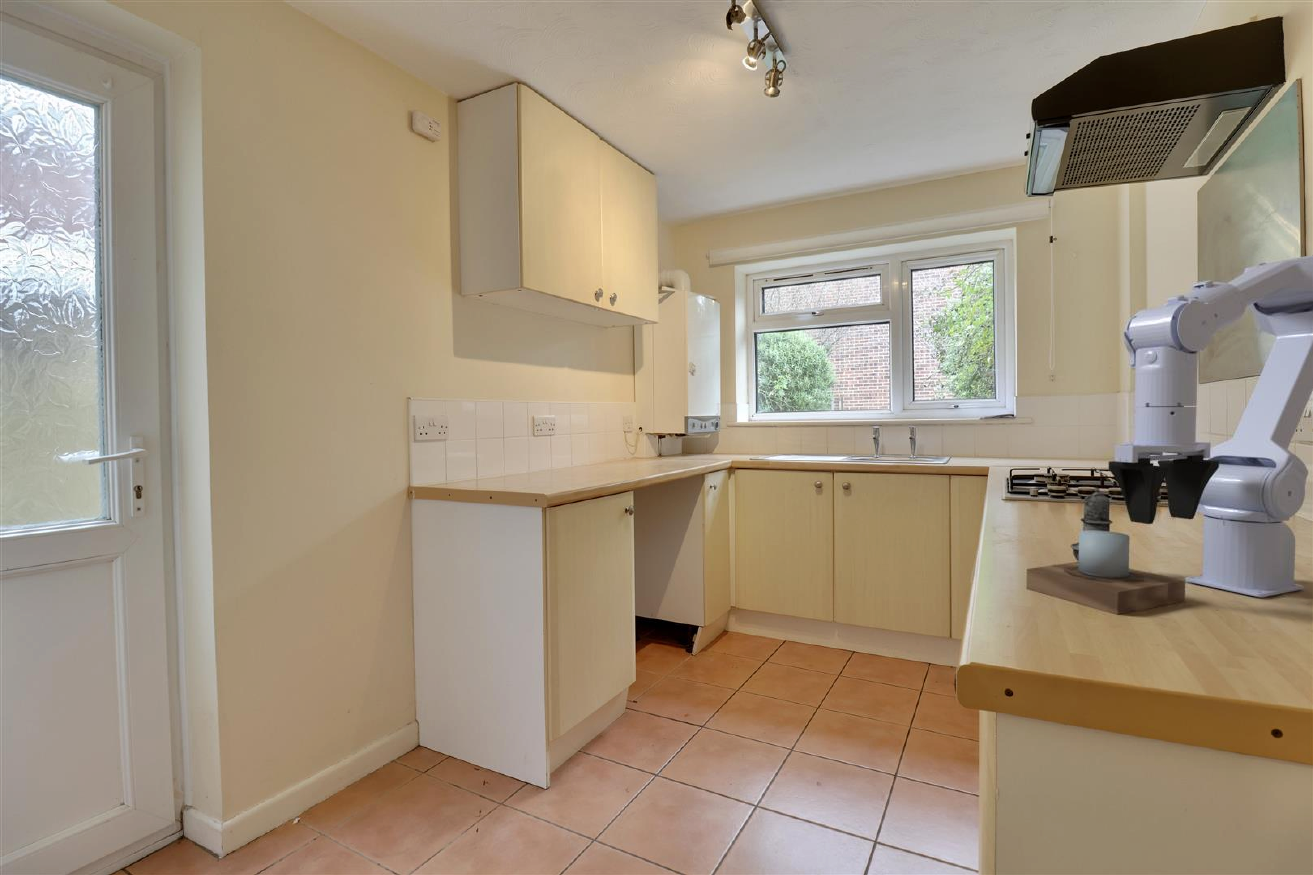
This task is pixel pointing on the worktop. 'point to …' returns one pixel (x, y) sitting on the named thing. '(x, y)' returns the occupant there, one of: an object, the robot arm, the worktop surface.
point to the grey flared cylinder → (1094, 516)
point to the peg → (1104, 555)
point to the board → (1107, 588)
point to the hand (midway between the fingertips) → (1162, 520)
